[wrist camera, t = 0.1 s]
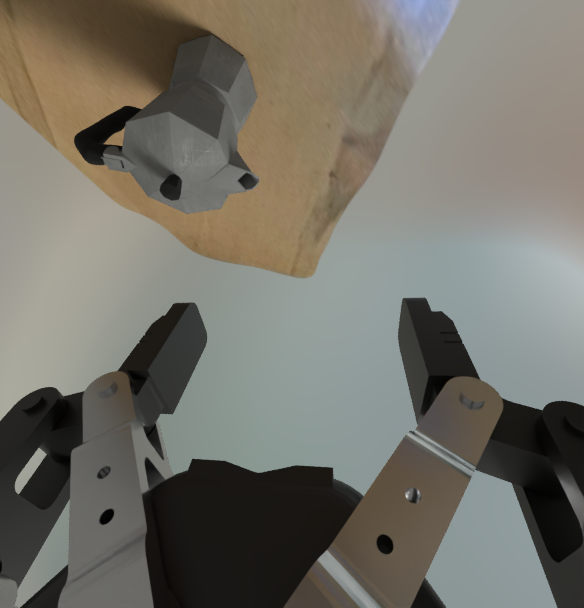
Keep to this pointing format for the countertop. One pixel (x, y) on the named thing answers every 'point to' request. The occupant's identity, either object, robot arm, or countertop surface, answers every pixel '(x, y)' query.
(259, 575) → the robot arm
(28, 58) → the countertop surface
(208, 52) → the coffeepot
